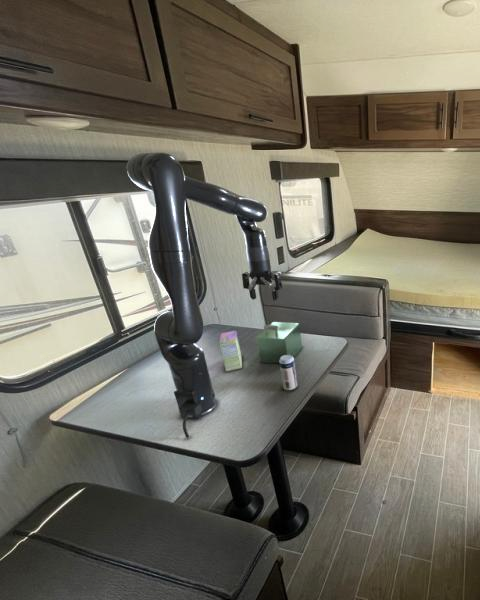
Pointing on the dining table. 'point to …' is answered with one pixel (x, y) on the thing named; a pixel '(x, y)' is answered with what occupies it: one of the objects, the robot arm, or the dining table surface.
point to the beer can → (288, 372)
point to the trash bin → (280, 347)
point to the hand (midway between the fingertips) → (264, 299)
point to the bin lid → (277, 331)
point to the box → (230, 350)
